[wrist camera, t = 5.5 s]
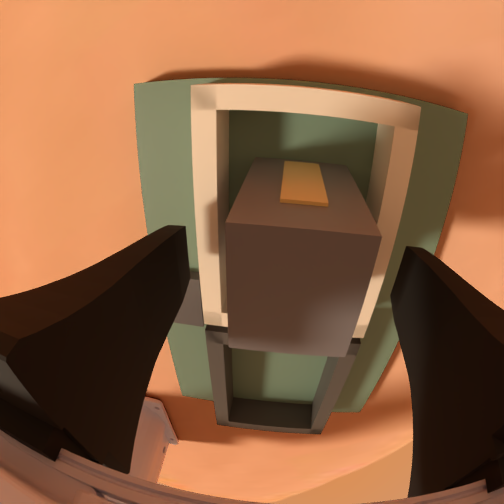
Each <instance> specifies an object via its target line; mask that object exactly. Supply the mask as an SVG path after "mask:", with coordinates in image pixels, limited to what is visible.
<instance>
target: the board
mask: <svg viewBox="0 0 504 504" xmlns="http://www.w3.org/2000/svg"><path fill="white" fill-rule="evenodd" d="M134 101H135V120H136V135H137V148H138V159H139V169H140V179H141V188H142V196H143V204H144V212H145V219H146V226H147V233H148V235H149V234H151V233H152V232H154V231H156V230H158V229H160V228H162V227H164V226H167V225H179V226H186V235H187V246H188V257H189V267H190V276H191V278H190V281H189V284H188V288H187V291H186V294H185V297H184V300H183V303H182V305H181V307H180V309H179V312H178V314H177V316H176V318H175V320H174V322H173V324H172V327H171V329H170V331H169V333H168V335H167V337H168V342H169V346H170V350H171V354H172V358H173V362H174V366H175V370H176V374H177V378H178V381H179V385H180V389H181V392H182V395H183V396H188V397H193V398H199V399H204V400H210V401H214V407H215V413H216V420H217V425H224V426H230V427H238V428H245V429H254V430H263V431H274V432H286V433H302V434H321V432H322V430H323V428H324V426H325V424H326V422H327V420H328V418H329V416H330V414H331V412H360V411H361V409H362V408H363V406H364V404H365V403H366V401H367V399H368V398H369V396H370V394H371V392H372V391H373V389H374V387H375V385H376V384H377V382H378V380H379V378H380V376H381V374H382V373H383V371H384V369H385V367H386V365H387V363H388V361H389V359H390V357H391V355H392V353H393V351H394V349H395V347H396V345H397V343H398V341H399V338H398V334H397V330H396V327H395V323H394V318H393V312H392V305H391V298H390V294H391V291H392V288H393V285H394V282H395V279H396V276H397V273H398V270H399V267H400V264H401V261H402V257H403V254H404V251H405V248H406V246H412V247H421V248H424V249H425V250H427V251H428V252H430V253H431V254H433V255H434V253H435V250H436V247H437V244H438V241H439V238H440V235H441V232H442V228H443V225H444V222H445V218H446V215H447V211H448V208H449V204H450V200H451V197H452V193H453V189H454V185H455V181H456V176H457V172H458V167H459V163H460V158H461V153H462V148H463V142H464V137H465V131H466V125H467V118H468V114H467V113H464V112H460V111H457V110H454V109H451V108H447V107H444V106H440V105H437V104H433V103H429V102H425V101H421V100H417V99H413V98H409V97H405V96H400V95H395V94H391V93H386V92H380V91H375V90H369V89H364V88H357V87H351V86H344V85H337V84H329V83H320V82H311V81H299V80H286V79H268V78H197V79H179V80H166V81H155V82H146V83H137V84H134ZM255 157H262V158H276V159H289V160H301V161H311V162H321V163H331V164H339V165H346V166H347V168H348V170H349V171H350V173H351V175H352V177H353V179H354V181H355V183H356V184H357V186H358V188H359V190H360V192H361V194H362V196H363V198H364V200H365V202H366V204H367V206H368V208H369V210H370V212H371V214H372V216H373V218H374V220H375V222H376V224H377V227H378V229H379V231H380V233H381V235H382V239H381V243H380V247H379V251H378V255H377V258H376V262H375V266H374V269H373V273H372V276H371V280H370V283H369V287H368V290H367V293H366V297H365V300H364V303H363V306H362V309H361V313H360V316H359V319H358V322H357V325H356V328H355V331H354V334H353V336H352V339H351V342H350V345H349V348H348V350H347V353H346V356H345V357H328V356H312V355H298V354H286V353H275V352H264V351H255V350H246V349H238V348H230V347H229V343H228V316H227V285H226V244H225V221H226V219H227V217H228V215H229V212H230V210H231V208H232V206H233V204H234V202H235V199H236V197H237V195H238V193H239V191H240V189H241V186H242V184H243V182H244V180H245V178H246V176H247V174H248V171H249V169H250V167H251V165H252V163H253V161H254V159H255Z"/></svg>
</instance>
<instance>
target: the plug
mask: <svg viewBox="0 0 504 504" xmlns="http://www.w3.org/2000/svg"><path fill="white" fill-rule="evenodd" d="M381 239H382V235H381V233H380V231H379V229H378V227H377V224H376V222H375V220H374V218H373V216H372V214H371V212H370V210H369V208H368V206H367V204H366V202H365V200H364V198H363V196H362V194H361V192H360V190H359V188H358V186H357V184H356V183H355V181H354V179H353V177H352V175H351V173H350V171H349V170H348V168H347V166H346V165H339V164H331V163H321V162H311V161H301V160H289V159H276V158H262V157H255V159H254V161H253V163H252V165H251V167H250V169H249V171H248V174H247V176H246V178H245V180H244V182H243V184H242V186H241V189H240V191H239V193H238V195H237V197H236V199H235V202H234V204H233V206H232V208H231V210H230V212H229V215H228V217H227V219H226V221H225V244H226V285H227V316H228V343H229V347H230V348H238V349H246V350H255V351H264V352H275V353H286V354H298V355H312V356H328V357H345V356H346V353H347V350H348V348H349V345H350V342H351V339H352V336H353V334H354V331H355V328H356V325H357V322H358V319H359V316H360V313H361V309H362V306H363V303H364V300H365V297H366V293H367V290H368V287H369V283H370V280H371V276H372V273H373V269H374V266H375V262H376V258H377V255H378V251H379V247H380V243H381Z"/></svg>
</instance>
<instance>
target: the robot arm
mask: <svg viewBox="0 0 504 504" xmlns="http://www.w3.org/2000/svg"><path fill="white" fill-rule="evenodd" d="M190 278H191V276H190V267H189V257H188V246H187V235H186V226H179V225H167V226H164V227H162V228H160V229H158V230H156V231H154V232H152V233H151V234H149V235H147V236H145V237H144V238H142V239H140V240H138V241H137V242H135V243H133V244H131V245H130V246H128V247H126V248H124V249H123V250H121V251H119V252H117V253H115V254H113V255H111V256H110V257H108V258H106V259H104V260H102V261H100V262H99V263H97V264H95V265H93V266H90V267H88V268H86V269H84V270H82V271H80V272H77V273H75V274H73V275H71V276H68V277H66V278H63V279H60V280H58V281H55V282H52V283H49V284H47V285H44V286H41V287H38V288H35V289H32V290H29V291H25V292H22V293H18V294H14V295H10V296H6V297H2V298H0V504H269V503H258V502H249V501H241V500H233V499H226V498H220V497H214V496H209V495H203V494H198V493H194V492H189V491H184V490H180V489H176V488H172V487H168V486H164V485H160V484H157V481H158V478H159V474H160V471H161V468H162V464H163V461H164V458H165V454H166V451H167V448H168V445H169V443H170V444H175V445H177V444H178V442H179V441H178V439H177V437H176V434H175V432H174V430H173V427H172V425H171V423H170V420H169V418H168V415H167V413H166V411H165V408H164V406H163V403H162V402H161V401H160V400H157V399H153V398H149V397H145V395H146V391H147V388H148V384H149V381H150V378H151V374H152V371H153V368H154V365H155V362H156V360H157V357H158V355H159V352H160V350H161V348H162V346H163V344H164V341H165V339H166V337H167V335H168V333H169V331H170V329H171V327H172V324H173V322H174V320H175V318H176V316H177V314H178V312H179V309H180V307H181V305H182V303H183V300H184V297H185V294H186V291H187V288H188V284H189V281H190ZM390 298H391V305H392V312H393V318H394V323H395V327H396V330H397V334H398V338H399V341H400V345H401V349H402V352H403V356H404V360H405V364H406V368H407V372H408V376H409V382H410V388H411V398H412V410H413V459H412V470H411V478H410V487H409V492H408V498H404V499H398V500H391V501H383V502H374V503H363V504H504V310H503V309H501V308H500V307H499V306H497V305H496V304H494V303H493V302H492V301H490V300H489V299H488V298H486V297H485V296H484V295H483V294H481V293H480V292H479V291H478V290H476V289H475V288H474V287H473V286H471V285H470V284H469V283H468V282H466V281H465V280H464V279H463V278H462V277H460V276H459V275H458V274H457V273H455V272H454V271H453V270H452V269H451V268H449V267H448V266H447V265H446V264H444V263H443V262H442V261H441V260H439V259H438V258H437V257H435V256H434V255H433V254H431V253H430V252H428V251H427V250H425V249H424V248H421V247H412V246H406V248H405V251H404V254H403V257H402V261H401V264H400V267H399V270H398V273H397V276H396V279H395V282H394V285H393V288H392V291H391V294H390Z"/></svg>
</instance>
